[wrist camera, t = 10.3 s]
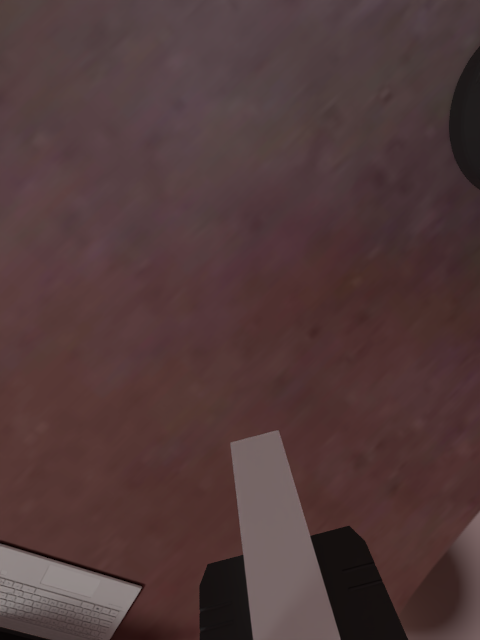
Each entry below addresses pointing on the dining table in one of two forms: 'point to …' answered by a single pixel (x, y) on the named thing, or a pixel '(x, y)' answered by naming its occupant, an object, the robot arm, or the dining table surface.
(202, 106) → the dining table surface
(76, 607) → the laptop
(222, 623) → the robot arm
